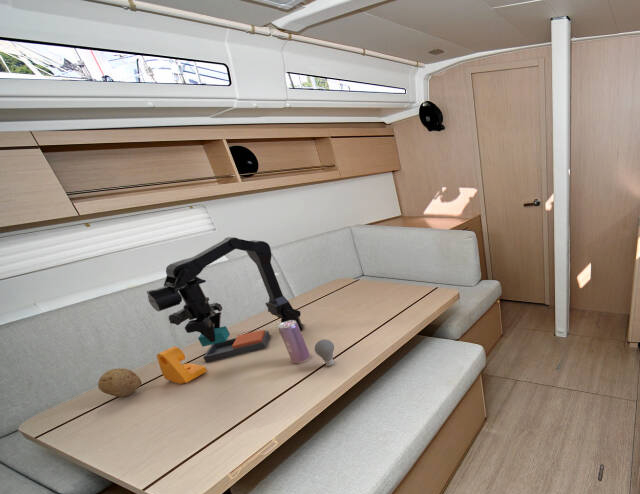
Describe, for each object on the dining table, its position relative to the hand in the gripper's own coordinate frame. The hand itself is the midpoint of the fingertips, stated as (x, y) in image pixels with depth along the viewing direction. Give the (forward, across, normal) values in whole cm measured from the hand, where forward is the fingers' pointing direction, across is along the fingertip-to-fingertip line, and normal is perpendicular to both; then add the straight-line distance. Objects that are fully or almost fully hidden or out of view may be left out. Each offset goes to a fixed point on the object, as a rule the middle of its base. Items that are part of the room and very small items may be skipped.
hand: (215, 337), depth 127 cm
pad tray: (+11, -10, +2) cm, 15 cm away
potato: (+11, +5, -27) cm, 30 cm away
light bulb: (+11, +24, +35) cm, 44 cm away
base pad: (+10, -10, +6) cm, 16 cm away
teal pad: (+1, 0, 0) cm, 1 cm away
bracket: (+11, +3, -11) cm, 16 cm away
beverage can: (+11, +14, +25) cm, 31 cm away
